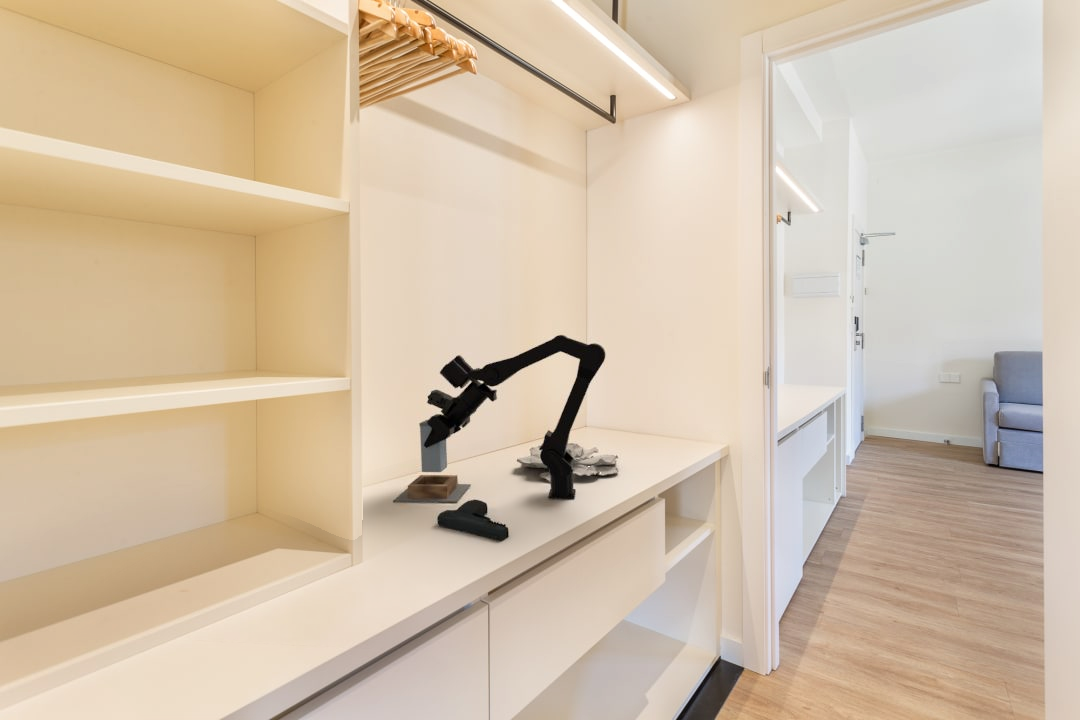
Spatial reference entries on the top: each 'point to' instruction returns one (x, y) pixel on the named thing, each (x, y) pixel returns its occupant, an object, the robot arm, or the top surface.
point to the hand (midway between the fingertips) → (428, 444)
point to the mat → (451, 499)
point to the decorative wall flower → (575, 461)
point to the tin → (432, 452)
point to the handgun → (473, 521)
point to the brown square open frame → (432, 486)
